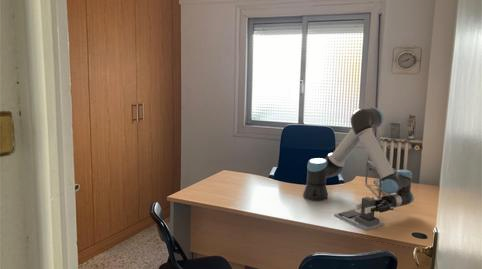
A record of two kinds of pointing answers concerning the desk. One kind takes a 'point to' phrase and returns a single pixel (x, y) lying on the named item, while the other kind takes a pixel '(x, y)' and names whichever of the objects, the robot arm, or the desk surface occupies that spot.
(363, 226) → the charging dock
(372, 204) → the brick
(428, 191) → the desk surface
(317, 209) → the desk surface
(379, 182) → the newton's cradle
